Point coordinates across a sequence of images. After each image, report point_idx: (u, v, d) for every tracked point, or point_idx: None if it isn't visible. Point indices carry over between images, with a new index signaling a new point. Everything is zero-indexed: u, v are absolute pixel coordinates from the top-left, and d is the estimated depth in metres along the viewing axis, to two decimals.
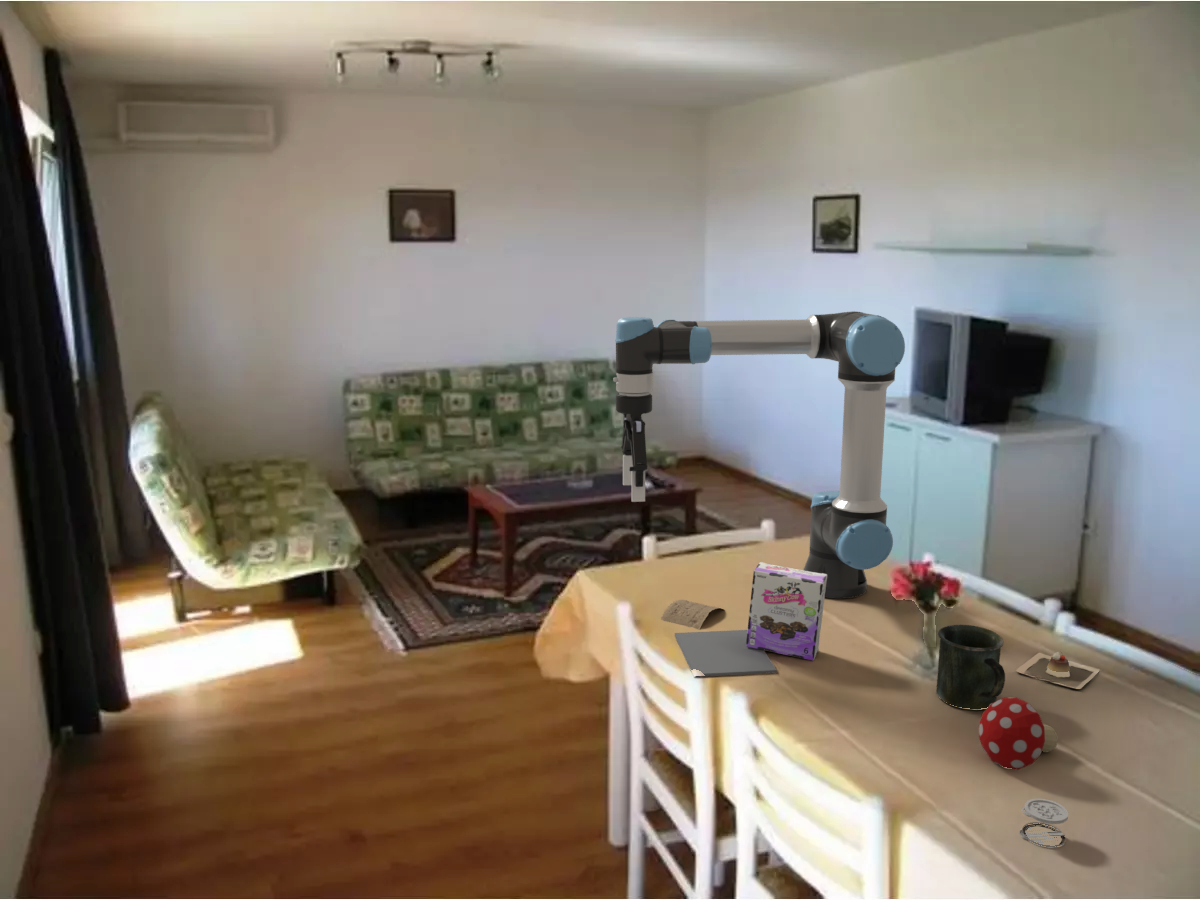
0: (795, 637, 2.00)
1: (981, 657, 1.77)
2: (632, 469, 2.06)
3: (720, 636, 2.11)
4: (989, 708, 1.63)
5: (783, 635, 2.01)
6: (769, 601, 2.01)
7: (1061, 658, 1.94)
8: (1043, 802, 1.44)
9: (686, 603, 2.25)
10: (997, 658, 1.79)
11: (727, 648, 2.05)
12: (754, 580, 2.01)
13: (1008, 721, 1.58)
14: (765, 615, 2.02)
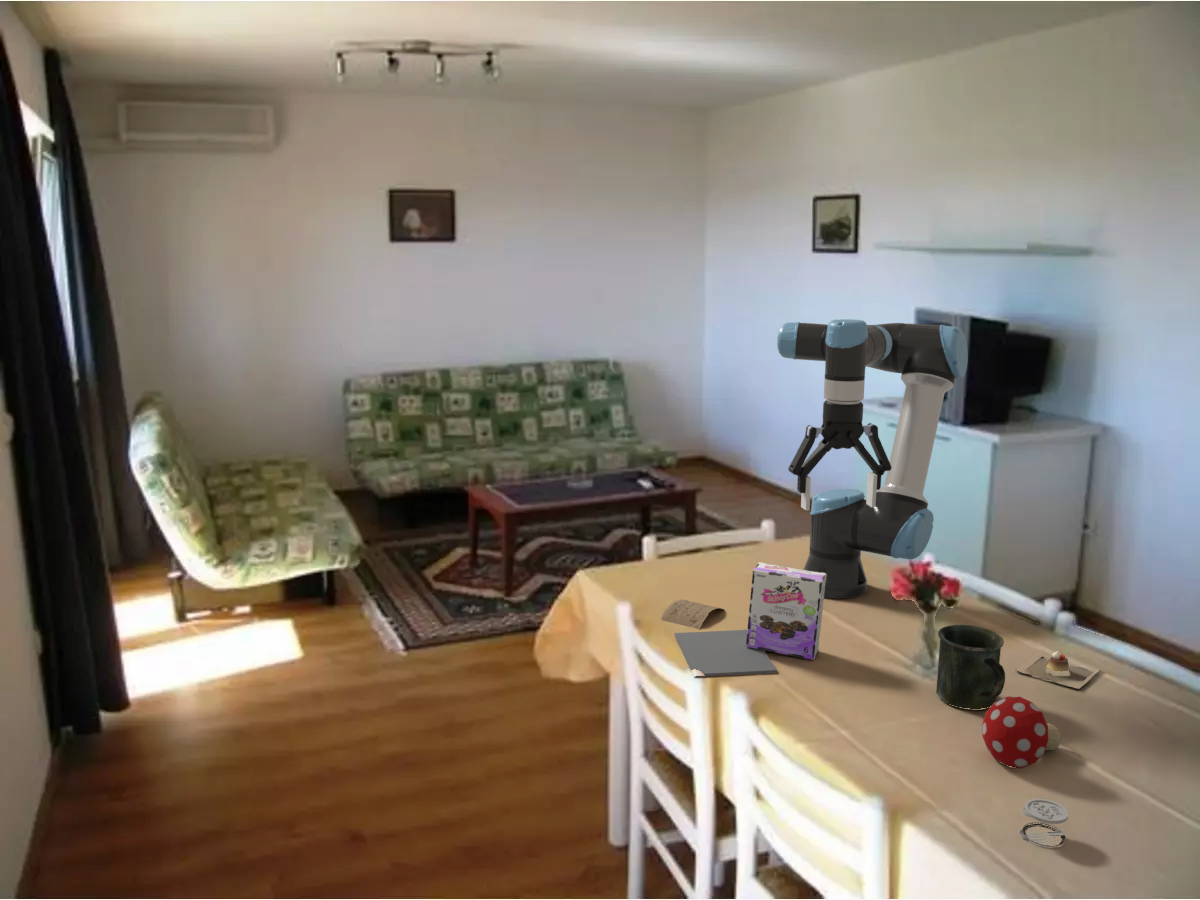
0: (795, 637, 2.01)
1: (981, 657, 1.77)
2: None
3: (720, 636, 2.11)
4: (993, 707, 1.63)
5: (783, 634, 2.01)
6: (769, 600, 2.01)
7: (1061, 657, 1.94)
8: (1043, 802, 1.44)
9: (686, 603, 2.25)
10: (997, 658, 1.79)
11: (727, 648, 2.05)
12: (753, 579, 2.02)
13: (1011, 720, 1.59)
14: (765, 614, 2.02)
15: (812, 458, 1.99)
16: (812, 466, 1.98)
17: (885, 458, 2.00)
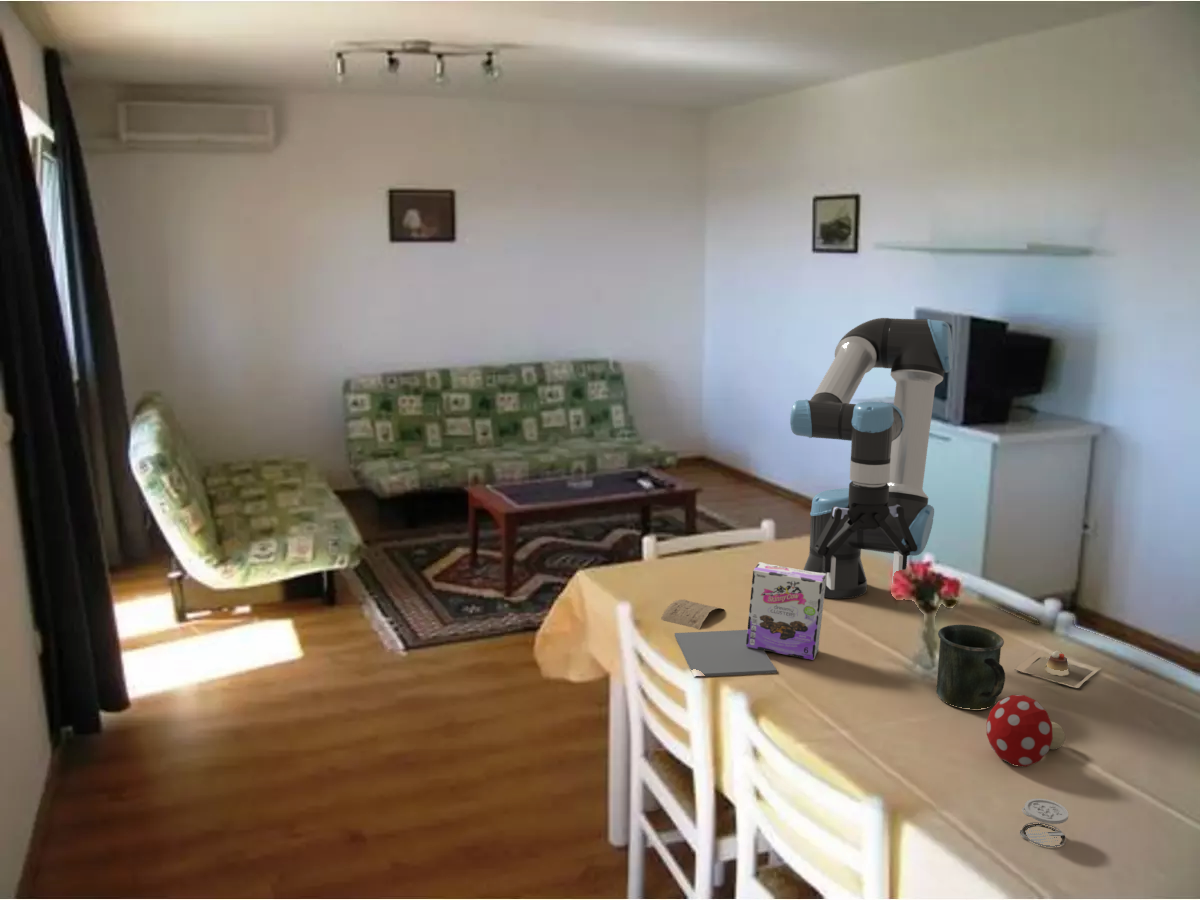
0: (795, 637, 2.00)
1: (981, 657, 1.77)
2: None
3: (720, 636, 2.11)
4: (997, 705, 1.63)
5: (783, 634, 2.01)
6: (769, 600, 2.01)
7: (1060, 656, 1.95)
8: (1043, 802, 1.44)
9: (686, 603, 2.25)
10: (997, 658, 1.79)
11: (727, 648, 2.05)
12: (754, 580, 2.01)
13: (1016, 718, 1.59)
14: (765, 614, 2.02)
15: (837, 538, 2.00)
16: (837, 546, 2.00)
17: (911, 539, 2.01)
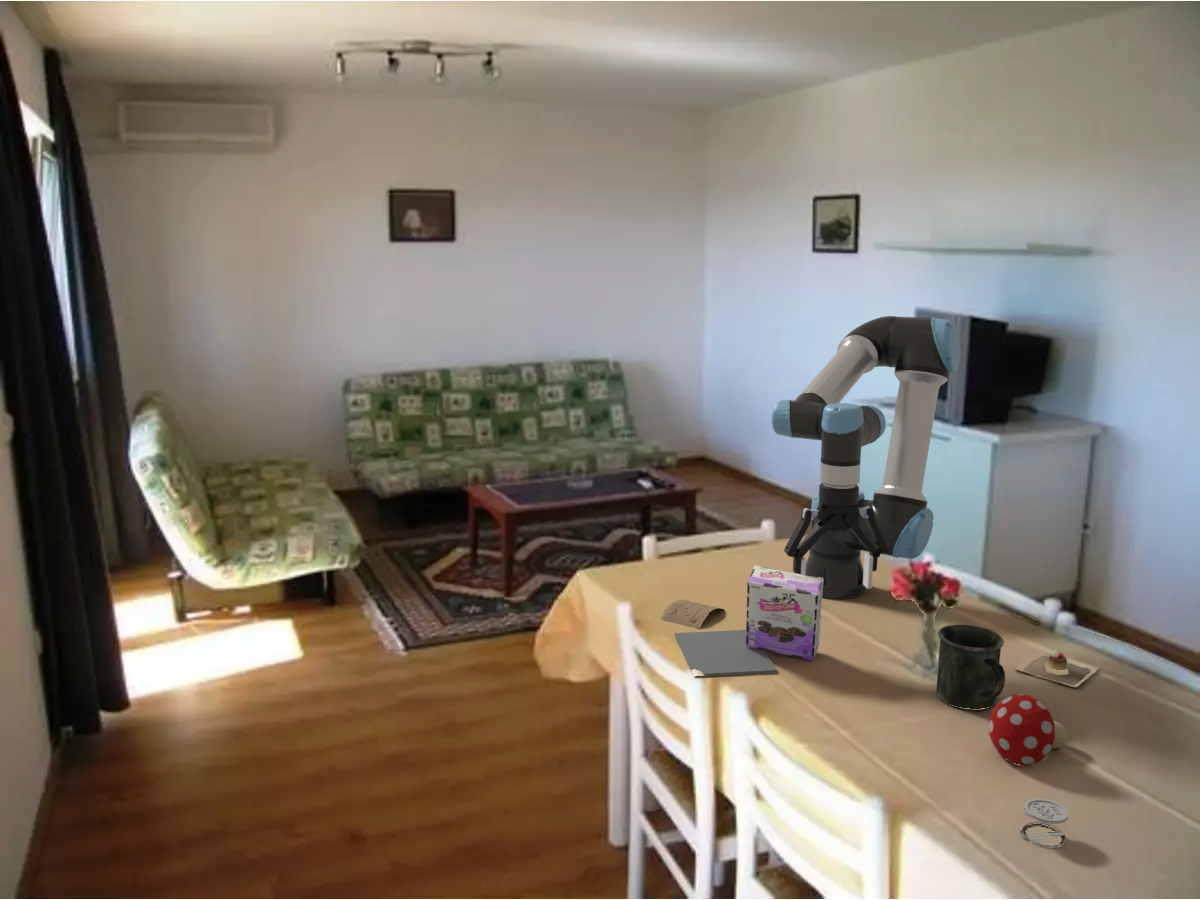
0: (794, 640, 1.99)
1: (981, 657, 1.77)
2: None
3: (720, 636, 2.11)
4: (999, 705, 1.64)
5: (782, 638, 2.00)
6: (765, 608, 1.98)
7: (1059, 656, 1.95)
8: (1043, 802, 1.44)
9: (686, 603, 2.25)
10: (997, 658, 1.79)
11: (727, 648, 2.05)
12: (749, 590, 1.98)
13: (1018, 718, 1.59)
14: (763, 620, 2.00)
15: (807, 540, 2.00)
16: (807, 548, 1.99)
17: (881, 540, 2.01)
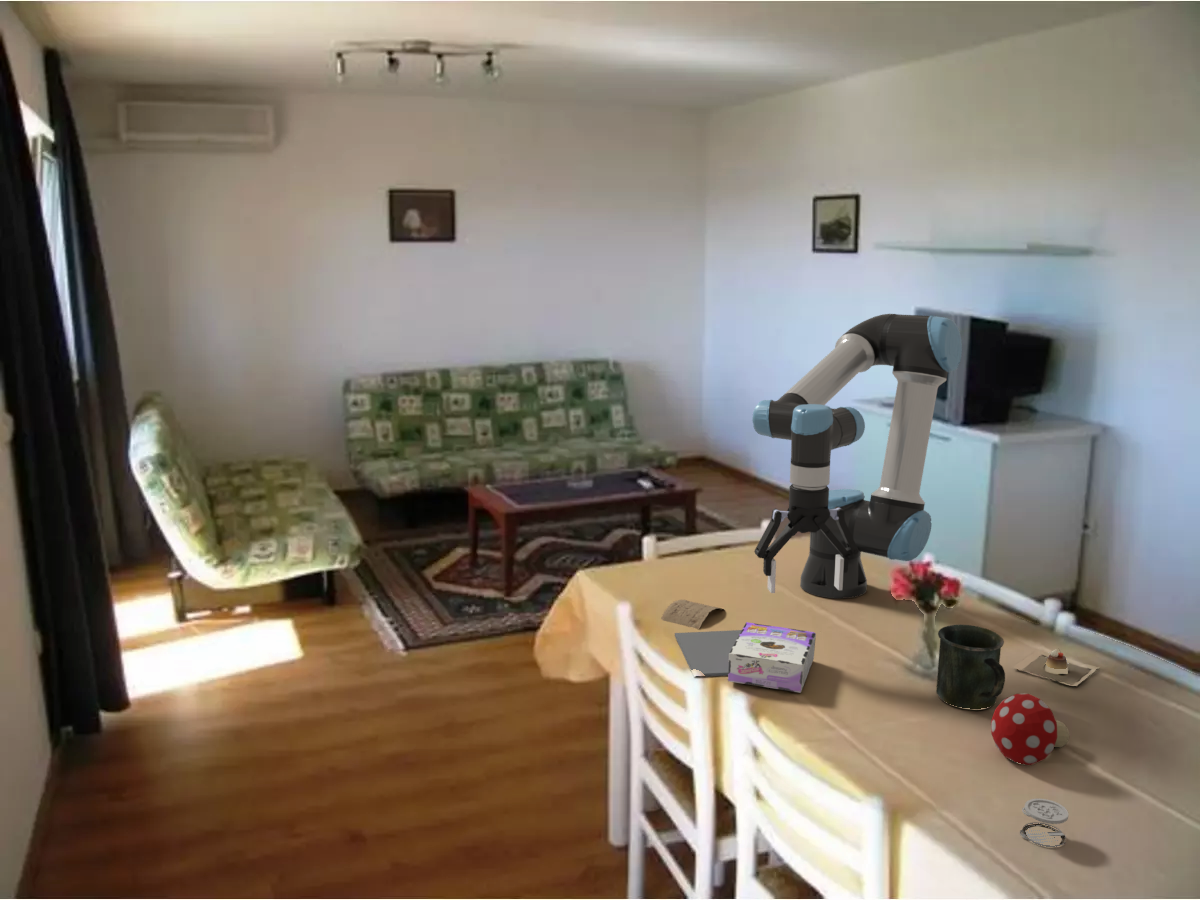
0: None
1: (981, 657, 1.77)
2: None
3: (720, 636, 2.11)
4: (1001, 704, 1.64)
5: None
6: None
7: (1059, 655, 1.95)
8: (1043, 802, 1.44)
9: (686, 603, 2.25)
10: (997, 658, 1.79)
11: (727, 648, 2.05)
12: None
13: (1021, 717, 1.60)
14: None
15: (777, 541, 1.99)
16: (777, 549, 1.99)
17: (852, 542, 2.00)
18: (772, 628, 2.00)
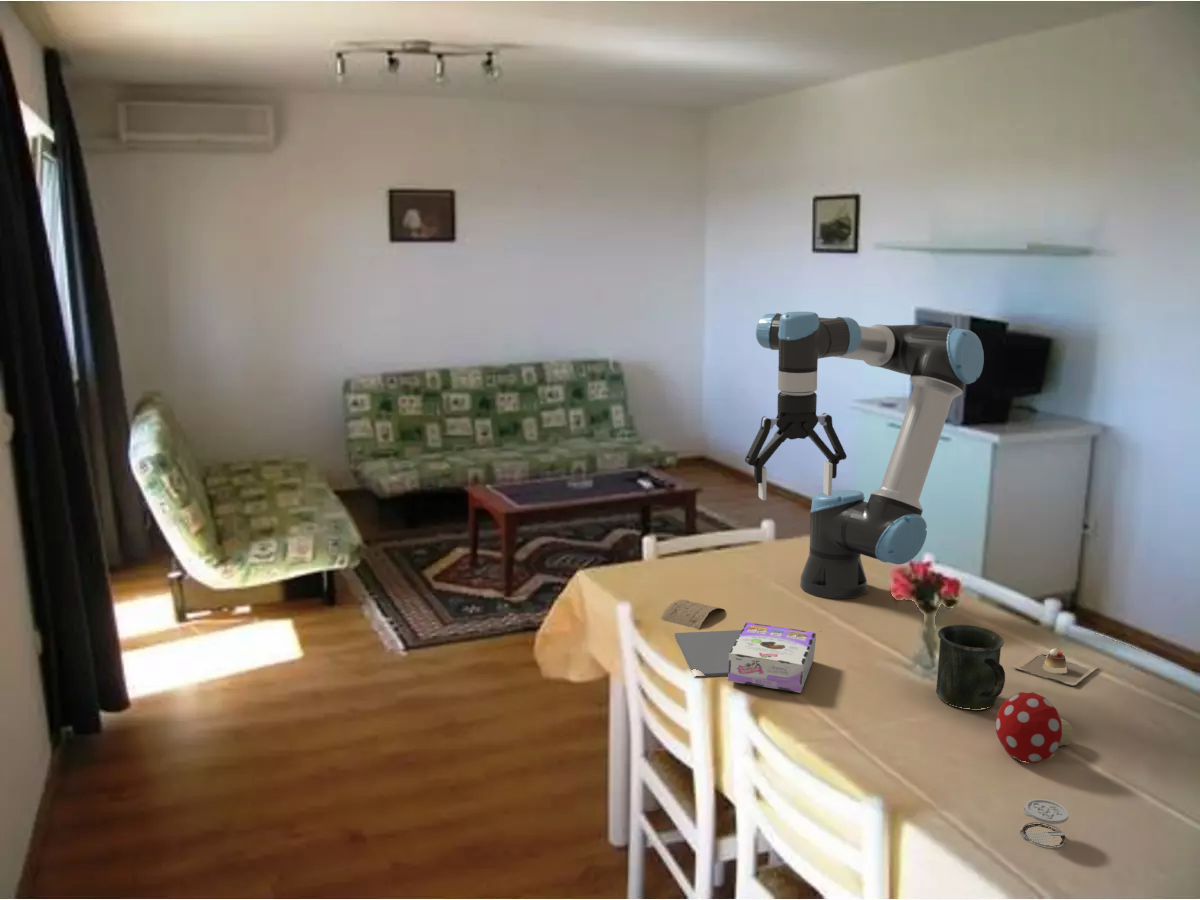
0: None
1: (981, 657, 1.77)
2: None
3: (720, 636, 2.11)
4: (1006, 703, 1.64)
5: None
6: None
7: (1058, 654, 1.96)
8: (1043, 802, 1.44)
9: (686, 603, 2.25)
10: (997, 658, 1.79)
11: (727, 648, 2.05)
12: None
13: (1025, 715, 1.60)
14: None
15: (767, 449, 2.02)
16: (767, 456, 2.02)
17: (840, 447, 2.04)
18: (773, 629, 2.00)
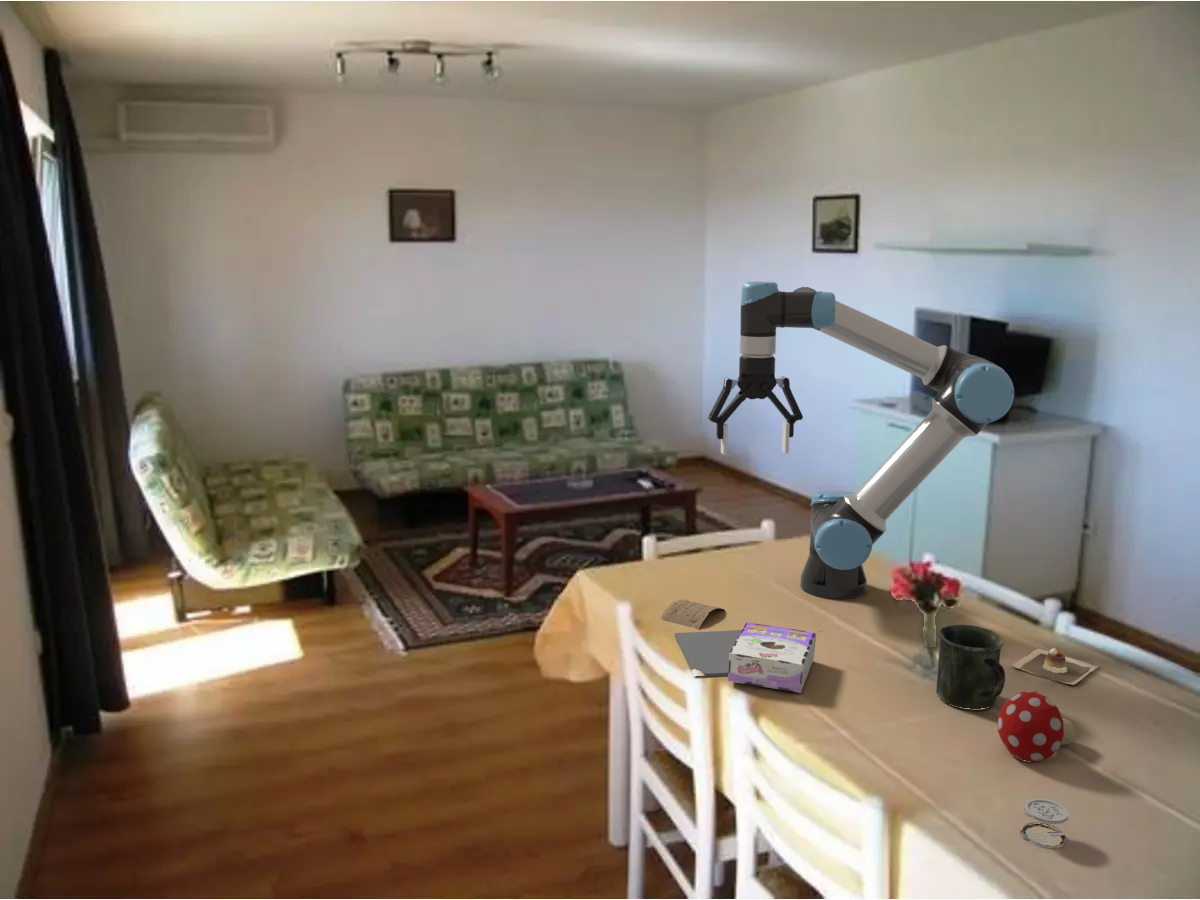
0: None
1: (981, 657, 1.77)
2: None
3: (720, 636, 2.11)
4: (1008, 702, 1.65)
5: None
6: None
7: (1058, 654, 1.96)
8: (1043, 802, 1.44)
9: (686, 603, 2.25)
10: (997, 658, 1.79)
11: (727, 648, 2.05)
12: None
13: (1027, 714, 1.60)
14: None
15: (729, 407, 2.19)
16: (728, 414, 2.19)
17: (797, 408, 2.20)
18: (773, 629, 2.00)
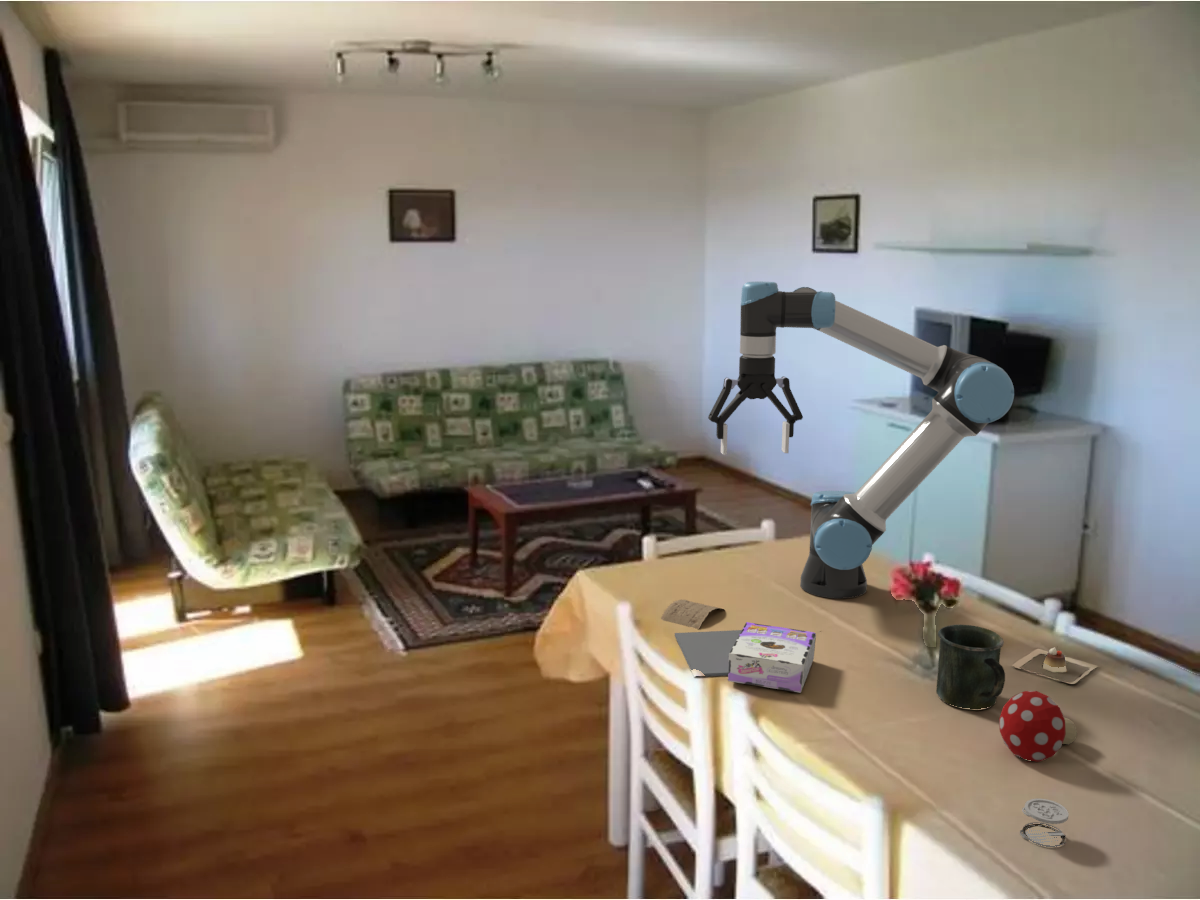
0: None
1: (981, 657, 1.77)
2: None
3: (720, 636, 2.11)
4: (1010, 701, 1.65)
5: None
6: None
7: (1058, 653, 1.96)
8: (1043, 802, 1.44)
9: (686, 603, 2.25)
10: (997, 658, 1.79)
11: (727, 648, 2.05)
12: None
13: (1029, 714, 1.60)
14: None
15: (729, 407, 2.19)
16: (728, 414, 2.19)
17: (797, 408, 2.20)
18: (773, 629, 2.00)
